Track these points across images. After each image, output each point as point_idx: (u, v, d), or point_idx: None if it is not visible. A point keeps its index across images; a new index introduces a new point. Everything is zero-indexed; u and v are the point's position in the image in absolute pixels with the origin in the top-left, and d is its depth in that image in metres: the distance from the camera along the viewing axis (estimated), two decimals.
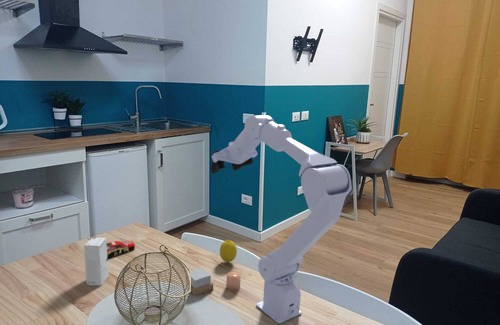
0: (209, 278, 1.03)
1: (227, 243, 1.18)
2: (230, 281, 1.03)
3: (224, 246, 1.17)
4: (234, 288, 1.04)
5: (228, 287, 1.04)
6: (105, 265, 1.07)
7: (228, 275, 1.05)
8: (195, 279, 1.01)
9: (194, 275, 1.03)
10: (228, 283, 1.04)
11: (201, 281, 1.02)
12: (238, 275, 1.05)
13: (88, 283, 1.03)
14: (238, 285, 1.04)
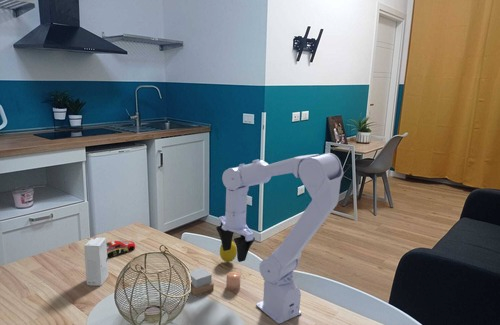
0: (210, 278, 1.04)
1: None
2: (230, 281, 1.03)
3: None
4: (234, 288, 1.04)
5: (228, 287, 1.04)
6: (105, 265, 1.07)
7: (228, 275, 1.05)
8: (196, 278, 1.01)
9: (195, 274, 1.03)
10: (228, 283, 1.04)
11: (202, 281, 1.02)
12: (238, 275, 1.05)
13: (88, 283, 1.03)
14: (238, 285, 1.04)
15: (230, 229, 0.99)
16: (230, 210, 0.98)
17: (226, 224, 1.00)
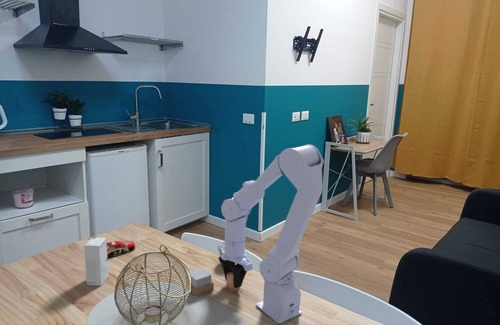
0: (210, 278, 1.03)
1: None
2: (230, 280, 1.03)
3: None
4: (234, 288, 1.04)
5: (228, 287, 1.04)
6: (105, 265, 1.07)
7: (228, 275, 1.05)
8: (196, 279, 1.01)
9: (195, 275, 1.03)
10: (228, 283, 1.04)
11: (202, 281, 1.02)
12: None
13: (88, 283, 1.03)
14: None
15: (229, 259, 1.01)
16: (229, 240, 1.00)
17: (225, 253, 1.02)
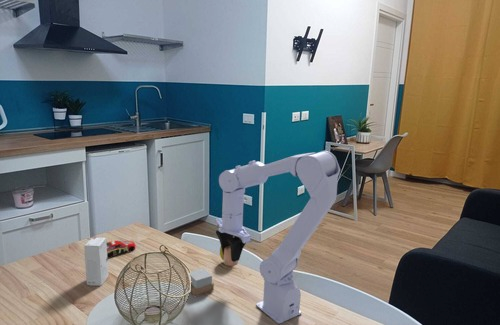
0: (210, 278, 1.03)
1: None
2: (228, 254, 1.02)
3: None
4: (231, 262, 1.02)
5: (225, 261, 1.02)
6: (105, 265, 1.07)
7: (226, 249, 1.03)
8: (196, 279, 1.01)
9: (195, 275, 1.03)
10: (225, 257, 1.02)
11: (202, 282, 1.01)
12: None
13: (88, 283, 1.03)
14: None
15: (227, 231, 0.99)
16: (227, 212, 0.98)
17: (223, 226, 1.00)
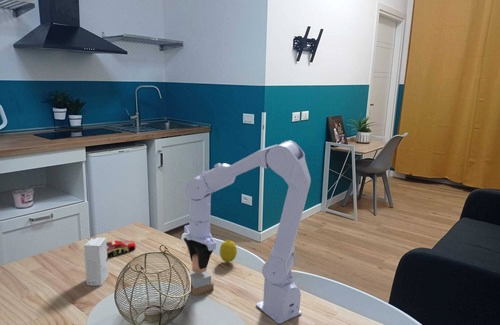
0: (209, 279, 1.03)
1: (227, 243, 1.18)
2: (195, 261, 1.01)
3: (224, 246, 1.17)
4: (199, 269, 1.01)
5: (193, 268, 1.02)
6: (105, 265, 1.07)
7: (194, 256, 1.02)
8: (195, 279, 1.01)
9: (195, 275, 1.03)
10: (193, 264, 1.02)
11: (201, 282, 1.01)
12: None
13: (88, 283, 1.03)
14: None
15: (193, 238, 0.98)
16: (196, 220, 0.97)
17: (190, 233, 1.00)
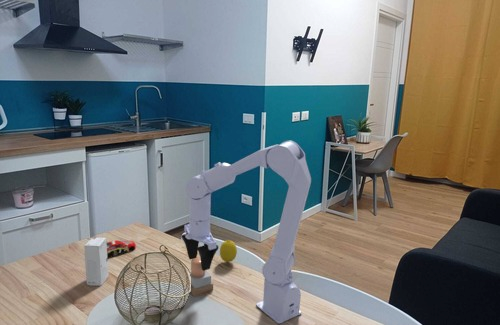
0: (209, 278, 1.03)
1: (227, 243, 1.18)
2: (194, 266, 1.01)
3: (224, 246, 1.17)
4: (198, 274, 1.02)
5: (192, 273, 1.02)
6: (105, 265, 1.07)
7: (192, 261, 1.03)
8: (195, 279, 1.01)
9: None
10: (192, 269, 1.02)
11: (201, 282, 1.01)
12: None
13: (88, 283, 1.03)
14: (203, 271, 1.02)
15: (193, 238, 0.98)
16: (196, 219, 0.97)
17: (190, 233, 1.00)
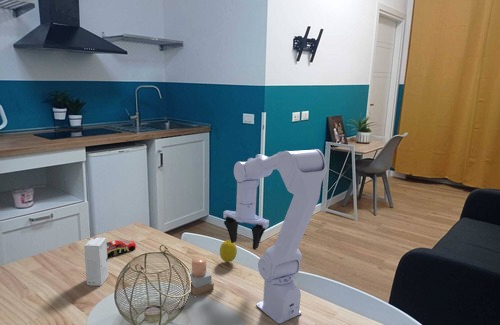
0: (210, 278, 1.03)
1: (227, 243, 1.18)
2: (195, 266, 1.01)
3: (224, 246, 1.17)
4: (199, 274, 1.02)
5: (193, 273, 1.02)
6: (105, 265, 1.07)
7: (193, 261, 1.03)
8: (196, 279, 1.01)
9: None
10: (193, 269, 1.02)
11: (201, 281, 1.02)
12: (204, 261, 1.03)
13: (88, 283, 1.03)
14: (203, 271, 1.02)
15: (245, 220, 1.05)
16: (238, 201, 1.05)
17: (240, 216, 1.06)
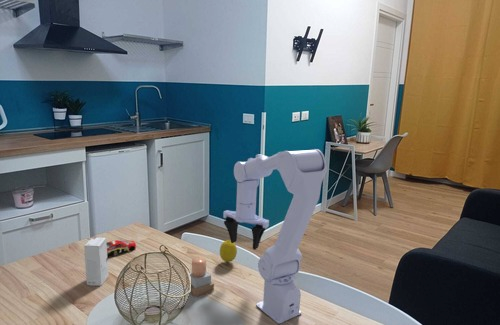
0: (209, 278, 1.03)
1: (227, 243, 1.18)
2: (195, 266, 1.01)
3: (224, 246, 1.17)
4: (199, 274, 1.02)
5: (193, 273, 1.02)
6: (105, 265, 1.07)
7: (193, 261, 1.03)
8: (195, 279, 1.01)
9: None
10: (193, 269, 1.02)
11: (201, 281, 1.02)
12: (203, 260, 1.03)
13: (88, 283, 1.03)
14: (203, 271, 1.02)
15: (245, 220, 1.05)
16: (238, 201, 1.05)
17: (240, 216, 1.06)
